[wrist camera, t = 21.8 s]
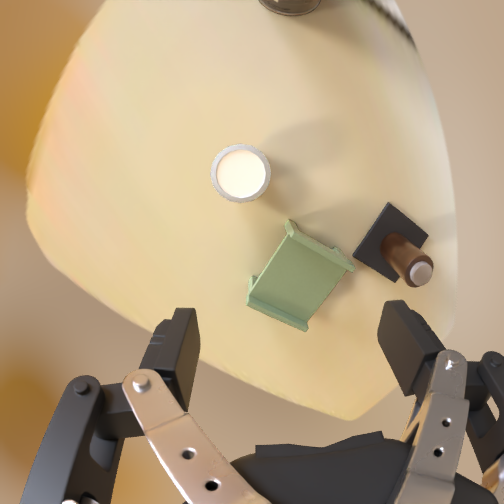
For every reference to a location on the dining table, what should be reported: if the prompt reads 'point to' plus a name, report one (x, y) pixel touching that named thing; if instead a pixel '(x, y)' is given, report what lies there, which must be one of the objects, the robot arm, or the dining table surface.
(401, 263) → the brown bottle
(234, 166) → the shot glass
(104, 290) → the dining table surface
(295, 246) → the tray
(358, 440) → the robot arm
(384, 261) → the mat
